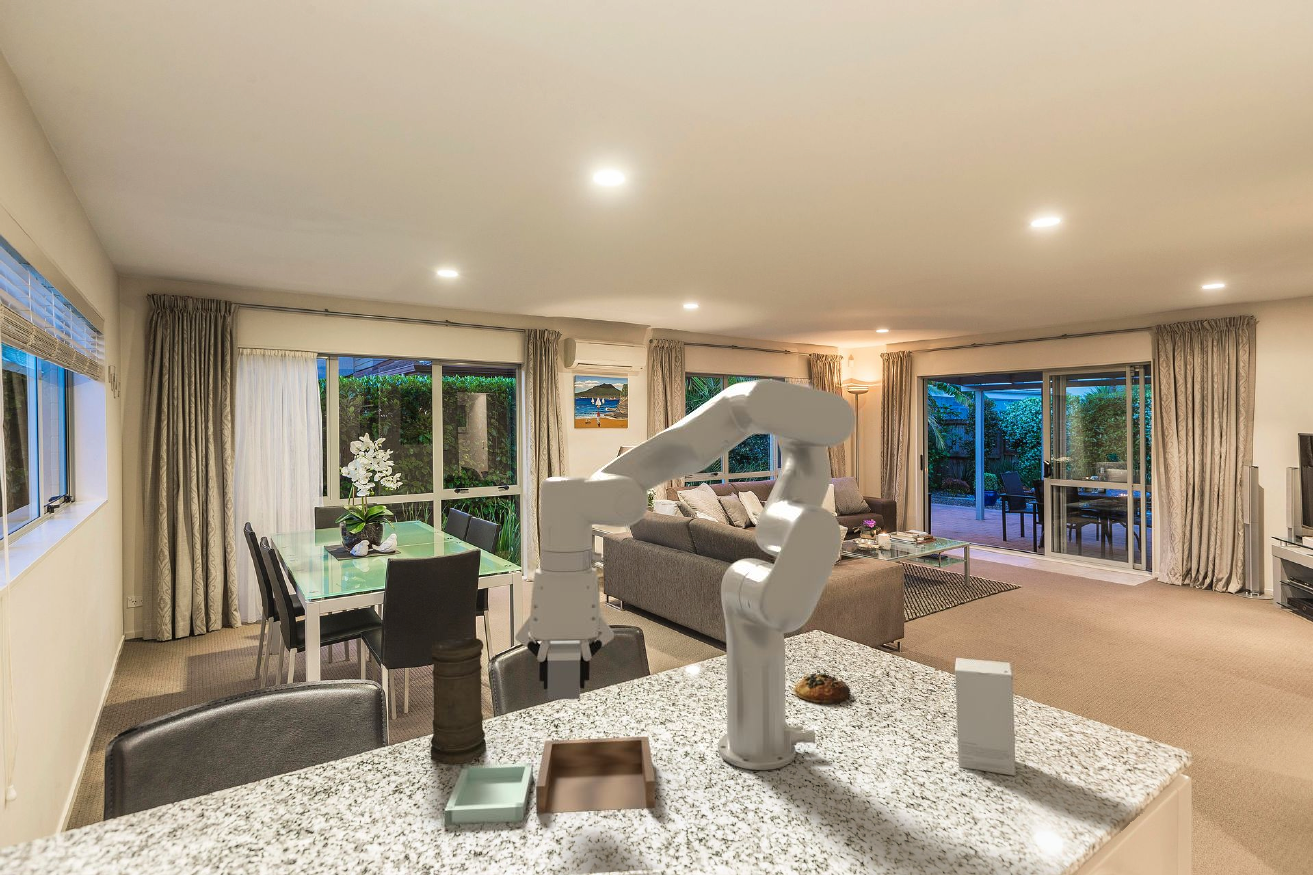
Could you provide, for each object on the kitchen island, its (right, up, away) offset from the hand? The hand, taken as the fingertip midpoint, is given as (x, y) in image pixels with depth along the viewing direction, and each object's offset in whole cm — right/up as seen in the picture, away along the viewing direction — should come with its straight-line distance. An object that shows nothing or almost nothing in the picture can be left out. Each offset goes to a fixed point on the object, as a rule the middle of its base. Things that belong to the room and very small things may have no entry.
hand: (564, 684), depth 101 cm
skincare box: (+65, -15, +8) cm, 68 cm away
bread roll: (+47, -16, +37) cm, 62 cm away
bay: (+5, -16, +1) cm, 16 cm away
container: (-19, -16, +13) cm, 29 cm away
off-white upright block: (0, -1, 0) cm, 1 cm away
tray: (-10, -16, -2) cm, 19 cm away
